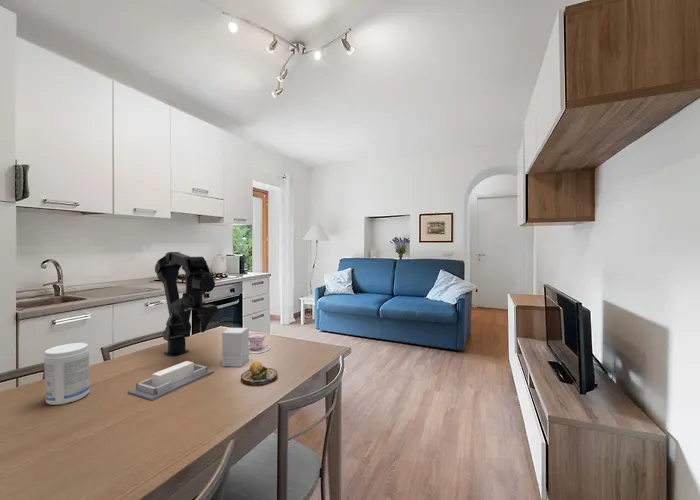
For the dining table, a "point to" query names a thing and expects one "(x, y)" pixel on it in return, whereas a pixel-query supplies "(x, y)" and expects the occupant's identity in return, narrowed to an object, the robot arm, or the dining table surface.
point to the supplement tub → (66, 373)
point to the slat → (173, 374)
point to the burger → (258, 375)
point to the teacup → (257, 343)
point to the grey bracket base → (167, 384)
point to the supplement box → (235, 347)
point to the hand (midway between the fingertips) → (194, 330)
